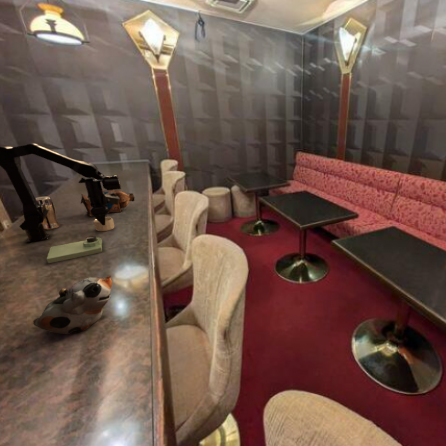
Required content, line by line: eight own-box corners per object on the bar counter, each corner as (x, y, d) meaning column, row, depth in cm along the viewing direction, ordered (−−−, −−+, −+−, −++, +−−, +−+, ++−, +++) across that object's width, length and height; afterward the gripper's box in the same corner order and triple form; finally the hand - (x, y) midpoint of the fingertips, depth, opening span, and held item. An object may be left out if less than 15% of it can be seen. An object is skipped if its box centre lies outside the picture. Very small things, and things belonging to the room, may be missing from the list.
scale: (48, 263, 91) (45, 255, 90) (52, 251, 100) (49, 243, 99) (103, 251, 101) (101, 244, 100) (102, 241, 110) (100, 234, 108)
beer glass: (49, 230, 118) (38, 200, 112) (37, 229, 119) (26, 199, 114) (64, 225, 124) (55, 197, 119) (53, 224, 125) (43, 195, 120)
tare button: (87, 243, 101) (86, 239, 100) (87, 240, 103) (86, 237, 102) (96, 241, 102) (95, 238, 102) (96, 239, 104) (95, 235, 104)
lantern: (90, 226, 140) (139, 214, 157) (86, 210, 129) (139, 199, 146) (79, 203, 144) (128, 194, 161) (75, 186, 132) (128, 178, 149)
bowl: (96, 228, 123) (93, 218, 121) (114, 225, 127) (111, 215, 125) (96, 233, 117) (93, 223, 116) (115, 229, 122) (112, 220, 120)
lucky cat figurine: (71, 302, 72) (89, 260, 72) (112, 317, 74) (130, 275, 73) (18, 328, 57) (40, 275, 57) (71, 346, 59) (93, 294, 58)
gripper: (117, 193, 113) (125, 224, 119) (114, 185, 127) (121, 214, 132) (86, 196, 107) (95, 229, 112) (86, 188, 120) (95, 217, 126)
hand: (103, 222), depth 121 cm, fingers open, 9 cm apart
